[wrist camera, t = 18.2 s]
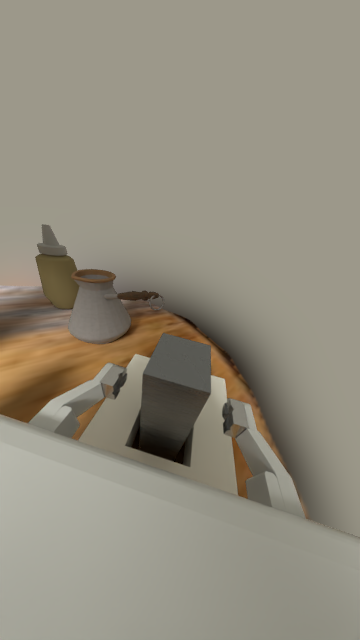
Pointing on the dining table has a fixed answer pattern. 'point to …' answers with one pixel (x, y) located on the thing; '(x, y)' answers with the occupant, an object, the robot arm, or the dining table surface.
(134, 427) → the socket block
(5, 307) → the dining table surface
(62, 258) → the squeeze bottle
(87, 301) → the coffee pot
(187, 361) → the square bit
